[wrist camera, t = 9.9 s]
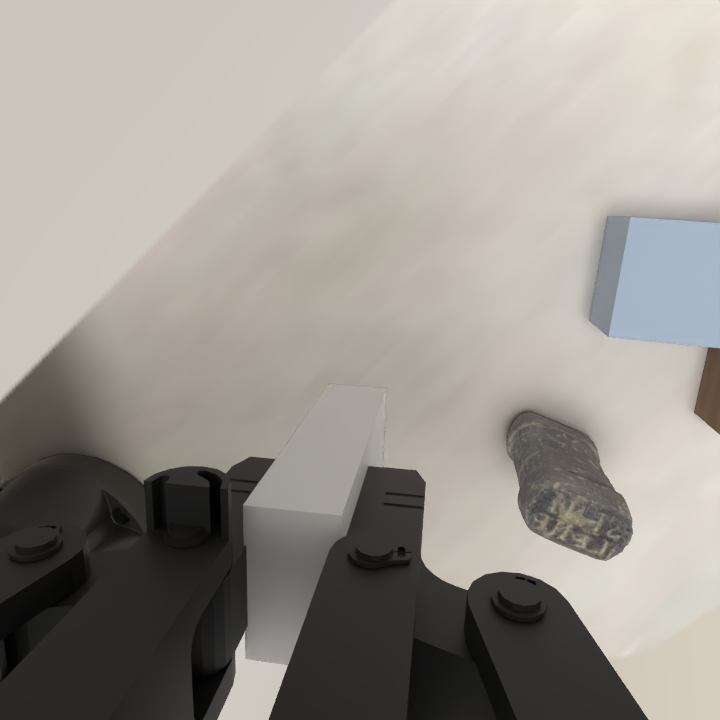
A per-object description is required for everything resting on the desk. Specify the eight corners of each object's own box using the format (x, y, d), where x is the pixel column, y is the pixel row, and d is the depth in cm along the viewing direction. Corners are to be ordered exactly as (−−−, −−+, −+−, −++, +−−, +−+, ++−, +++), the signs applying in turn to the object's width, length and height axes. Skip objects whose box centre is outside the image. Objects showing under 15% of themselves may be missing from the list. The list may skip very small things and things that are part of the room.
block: (588, 319, 34) (608, 337, 29) (606, 216, 32) (630, 216, 28) (696, 330, 33) (734, 349, 28) (720, 224, 32) (765, 226, 27)
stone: (519, 401, 36) (535, 465, 26) (604, 439, 35) (651, 519, 26) (495, 447, 37) (501, 524, 27) (577, 485, 36) (613, 577, 27)
